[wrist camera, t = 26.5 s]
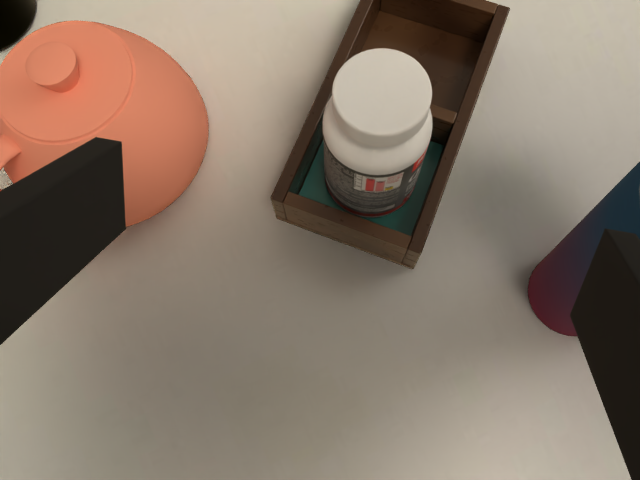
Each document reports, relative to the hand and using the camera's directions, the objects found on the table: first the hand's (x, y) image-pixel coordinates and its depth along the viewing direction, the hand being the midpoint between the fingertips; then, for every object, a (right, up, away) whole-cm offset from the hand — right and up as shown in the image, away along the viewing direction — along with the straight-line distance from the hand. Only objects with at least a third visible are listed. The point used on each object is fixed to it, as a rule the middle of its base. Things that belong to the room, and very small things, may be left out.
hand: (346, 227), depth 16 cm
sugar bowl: (-14, +5, +22) cm, 27 cm away
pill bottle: (+2, +4, +20) cm, 21 cm away
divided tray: (+4, +7, +22) cm, 23 cm away
